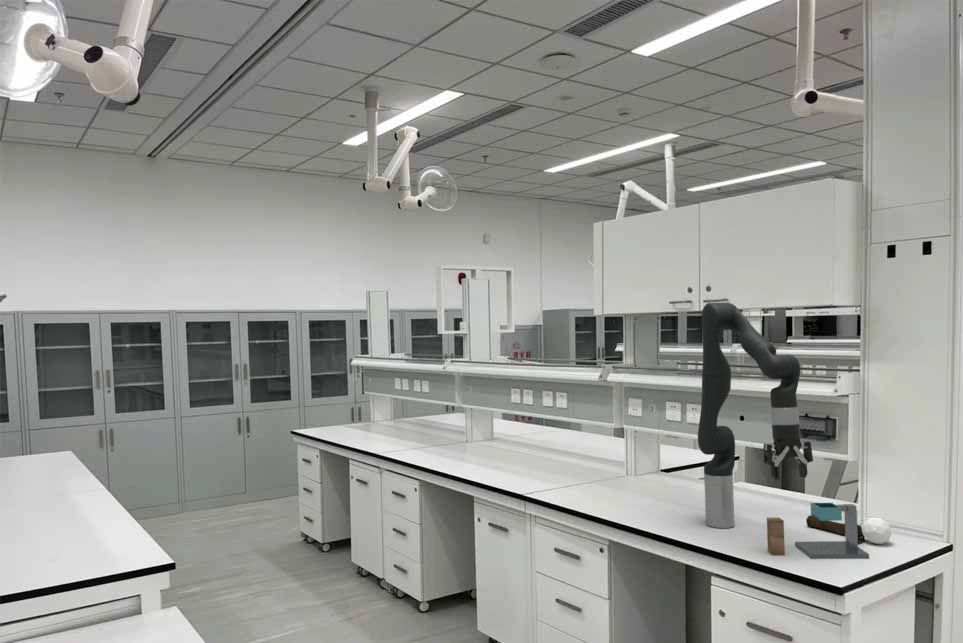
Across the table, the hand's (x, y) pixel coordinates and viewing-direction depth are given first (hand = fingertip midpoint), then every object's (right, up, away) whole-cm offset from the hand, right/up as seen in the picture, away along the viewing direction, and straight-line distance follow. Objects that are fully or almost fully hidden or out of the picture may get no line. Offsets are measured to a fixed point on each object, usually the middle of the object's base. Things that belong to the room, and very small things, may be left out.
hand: (789, 478), depth 200 cm
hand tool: (+24, -22, +19) cm, 38 cm away
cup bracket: (+11, -22, +1) cm, 25 cm away
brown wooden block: (-4, -22, +1) cm, 23 cm away
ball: (+30, -22, +7) cm, 38 cm away
